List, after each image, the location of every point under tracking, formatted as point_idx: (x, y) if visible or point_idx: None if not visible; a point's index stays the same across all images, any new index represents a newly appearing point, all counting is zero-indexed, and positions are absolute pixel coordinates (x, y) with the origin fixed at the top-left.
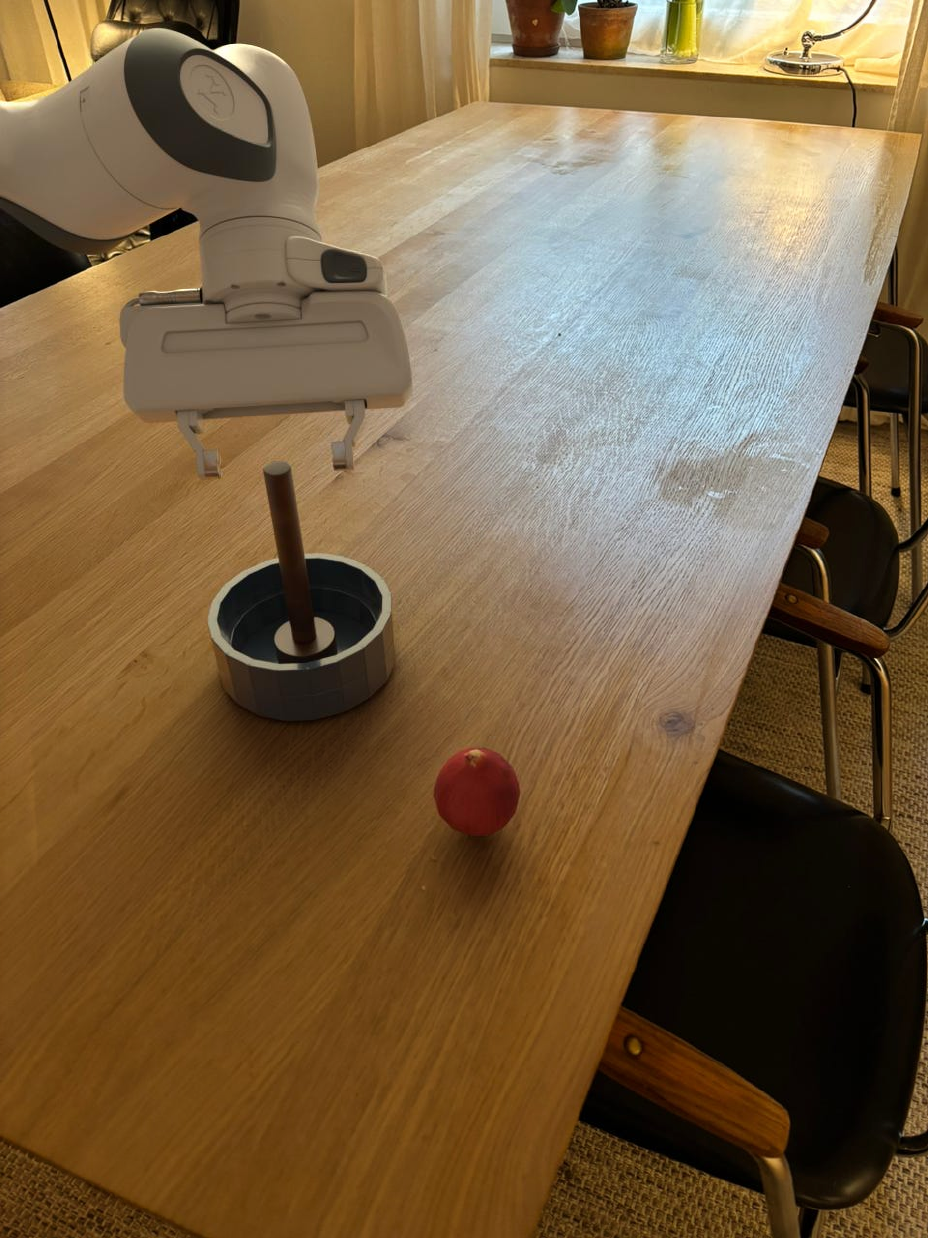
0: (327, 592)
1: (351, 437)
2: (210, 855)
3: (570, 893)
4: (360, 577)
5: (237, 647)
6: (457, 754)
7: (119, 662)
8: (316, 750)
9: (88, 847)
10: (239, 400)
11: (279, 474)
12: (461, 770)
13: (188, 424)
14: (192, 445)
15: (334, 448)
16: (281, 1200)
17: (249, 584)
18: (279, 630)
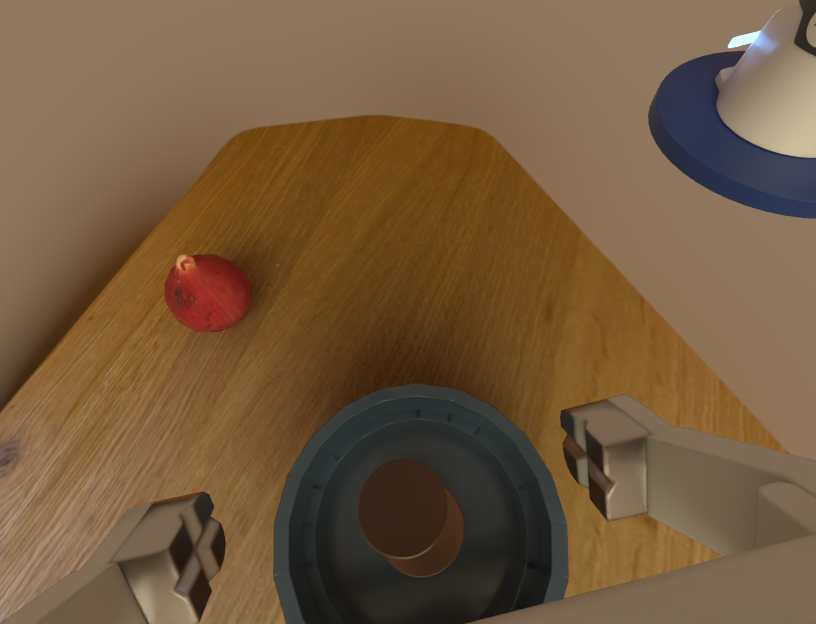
0: None
1: (70, 582)
2: (444, 270)
3: None
4: None
5: (518, 520)
6: (207, 283)
7: None
8: (382, 382)
9: (545, 265)
10: (598, 595)
11: (385, 465)
12: (204, 260)
13: (799, 480)
14: (702, 432)
15: (167, 532)
16: (345, 124)
17: None
18: (459, 534)
